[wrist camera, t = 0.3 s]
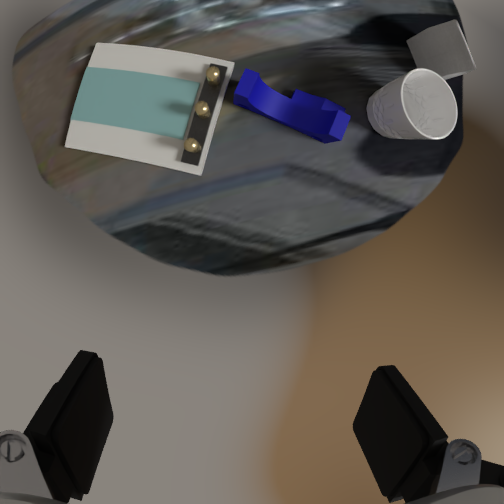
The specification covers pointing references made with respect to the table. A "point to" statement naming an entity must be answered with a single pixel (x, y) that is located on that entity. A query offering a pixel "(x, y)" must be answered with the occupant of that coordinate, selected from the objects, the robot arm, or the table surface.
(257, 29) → the table surface
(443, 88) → the white cup
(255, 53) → the table surface
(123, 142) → the board
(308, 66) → the table surface
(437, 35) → the grey box
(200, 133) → the coat peg rack
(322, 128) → the blue curved stepped piece
